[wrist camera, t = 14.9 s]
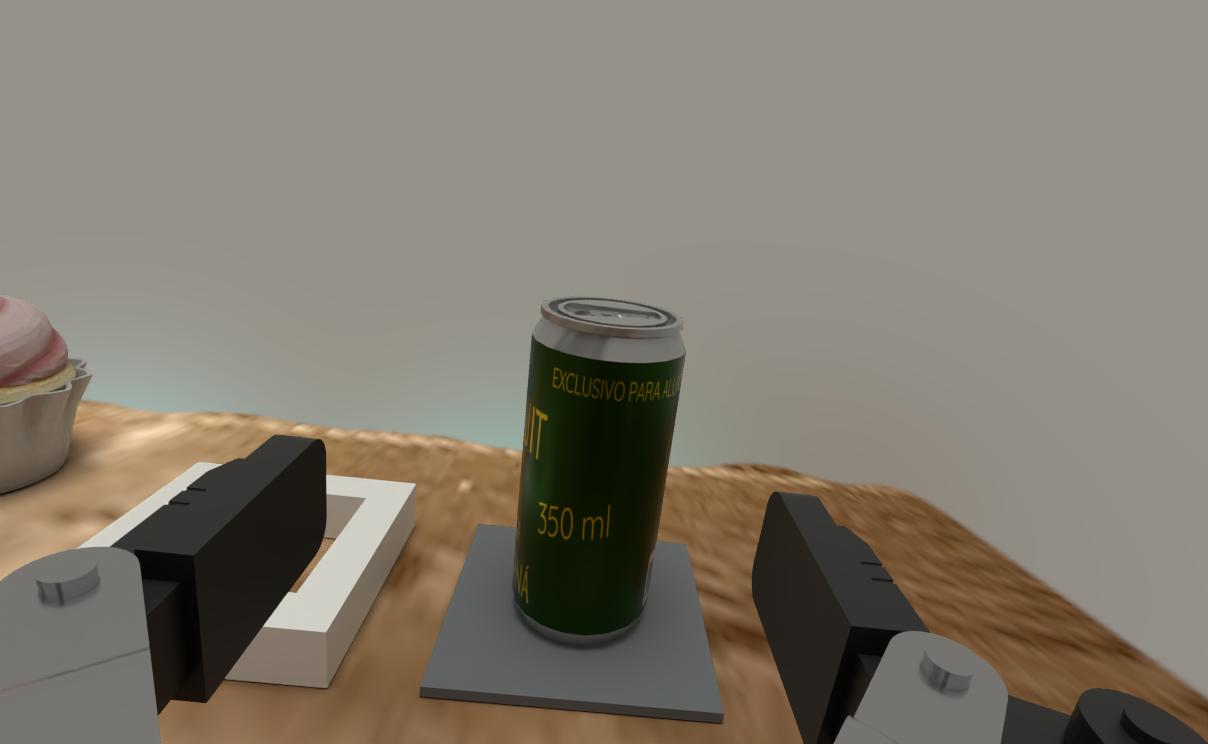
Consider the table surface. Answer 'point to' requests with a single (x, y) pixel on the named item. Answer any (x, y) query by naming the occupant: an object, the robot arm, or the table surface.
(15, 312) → the cupcake
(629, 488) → the beer can
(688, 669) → the mat
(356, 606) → the collar
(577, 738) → the table surface
